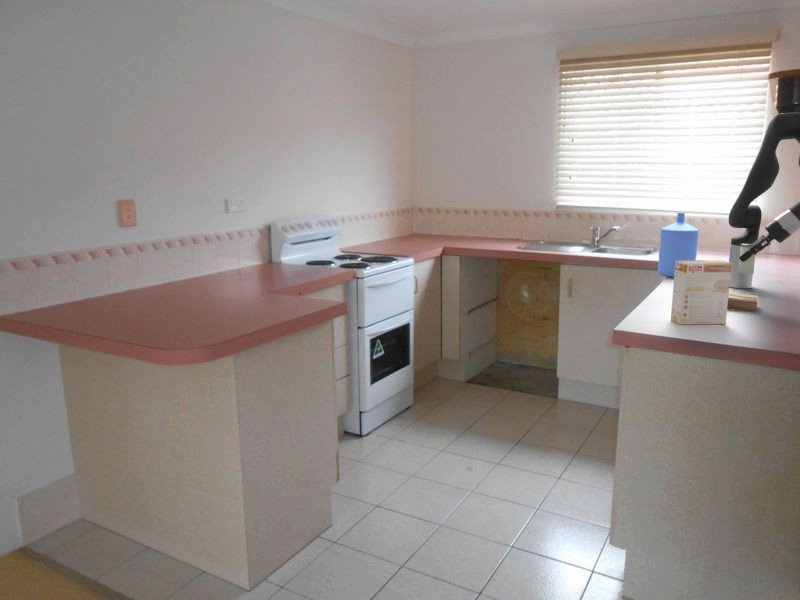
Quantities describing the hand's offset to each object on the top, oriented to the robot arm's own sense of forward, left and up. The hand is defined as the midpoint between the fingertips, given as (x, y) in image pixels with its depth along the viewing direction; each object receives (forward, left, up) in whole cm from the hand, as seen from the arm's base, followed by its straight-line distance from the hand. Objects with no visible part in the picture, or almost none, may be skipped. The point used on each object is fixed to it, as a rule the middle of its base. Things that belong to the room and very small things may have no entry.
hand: (741, 259), depth 231 cm
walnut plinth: (+4, +1, -17) cm, 17 cm away
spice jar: (0, +2, -5) cm, 5 cm away
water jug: (-60, -27, -17) cm, 67 cm away
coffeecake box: (+35, -10, -17) cm, 40 cm away
